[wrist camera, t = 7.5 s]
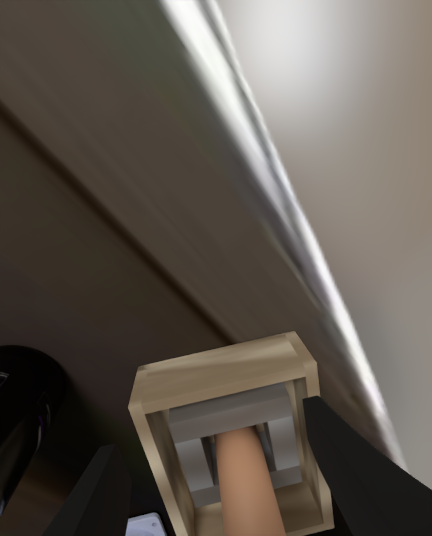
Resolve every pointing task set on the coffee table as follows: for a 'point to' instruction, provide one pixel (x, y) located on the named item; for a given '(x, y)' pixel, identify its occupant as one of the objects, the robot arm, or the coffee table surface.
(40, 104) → the coffee table surface
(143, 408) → the box
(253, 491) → the peg
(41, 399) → the supplement bottle
